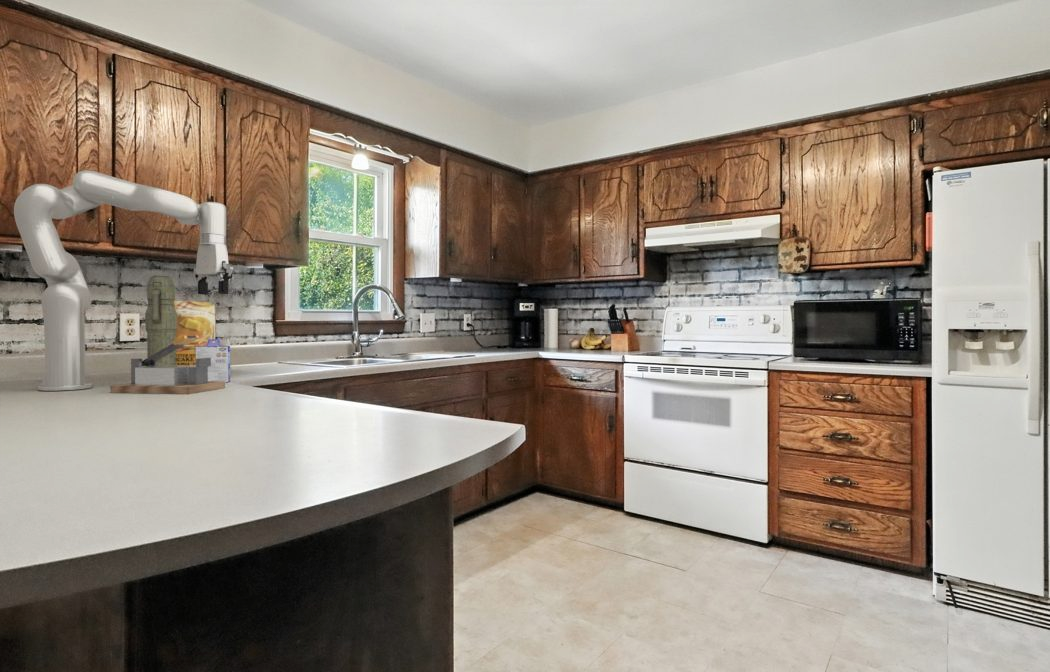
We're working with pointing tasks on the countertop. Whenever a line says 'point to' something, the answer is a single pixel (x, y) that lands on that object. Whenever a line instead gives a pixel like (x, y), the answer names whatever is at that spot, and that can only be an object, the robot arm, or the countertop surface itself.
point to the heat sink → (162, 375)
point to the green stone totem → (161, 318)
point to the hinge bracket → (137, 363)
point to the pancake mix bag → (194, 327)
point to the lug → (199, 371)
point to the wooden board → (167, 388)
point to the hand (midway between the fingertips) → (213, 294)
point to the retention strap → (169, 349)
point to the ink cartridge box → (216, 360)
